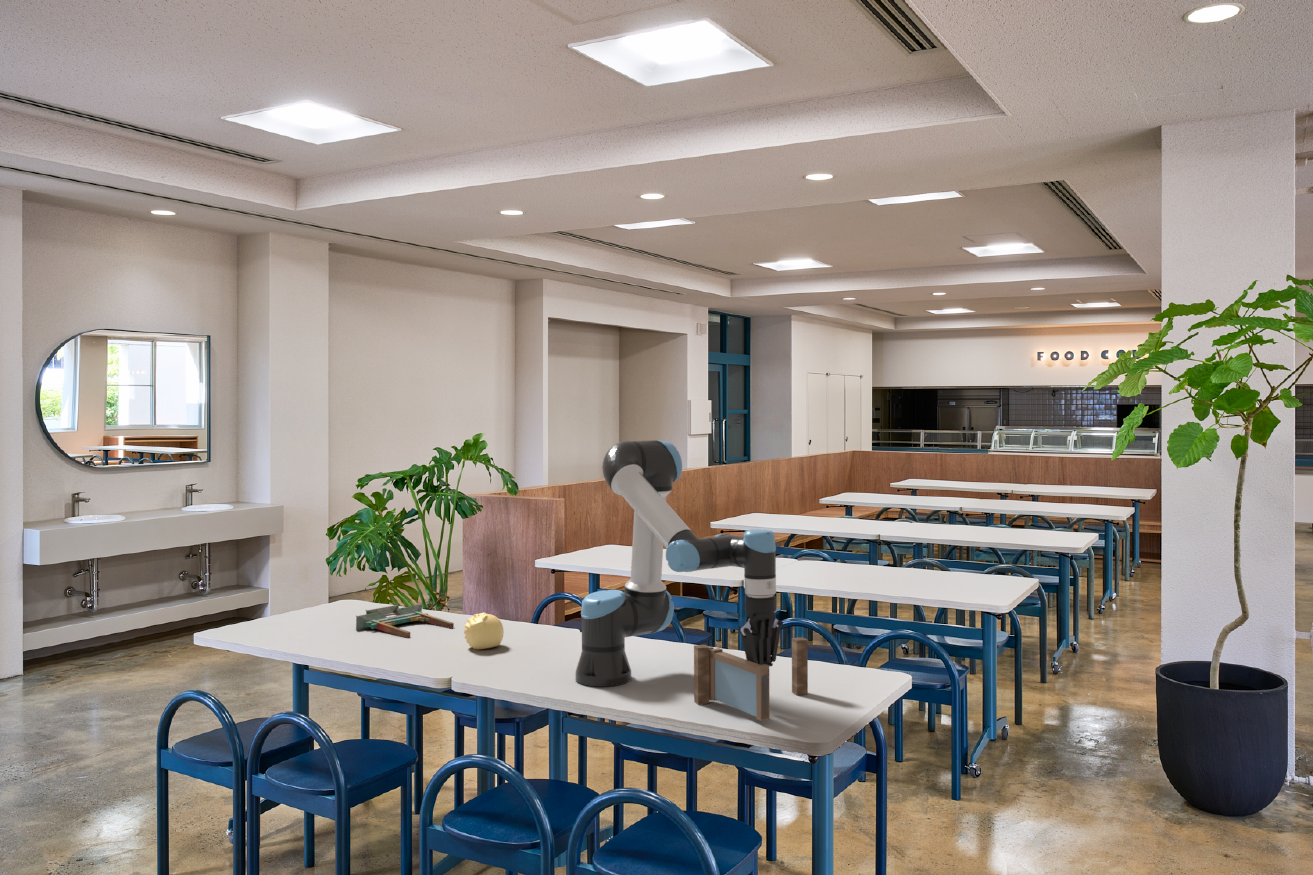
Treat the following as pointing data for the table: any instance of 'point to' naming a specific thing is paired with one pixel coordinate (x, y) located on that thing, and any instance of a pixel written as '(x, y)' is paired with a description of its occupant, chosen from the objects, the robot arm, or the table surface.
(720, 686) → the gate leaf
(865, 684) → the table surface
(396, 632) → the miniature gate
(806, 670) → the gate posts
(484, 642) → the sculpture
